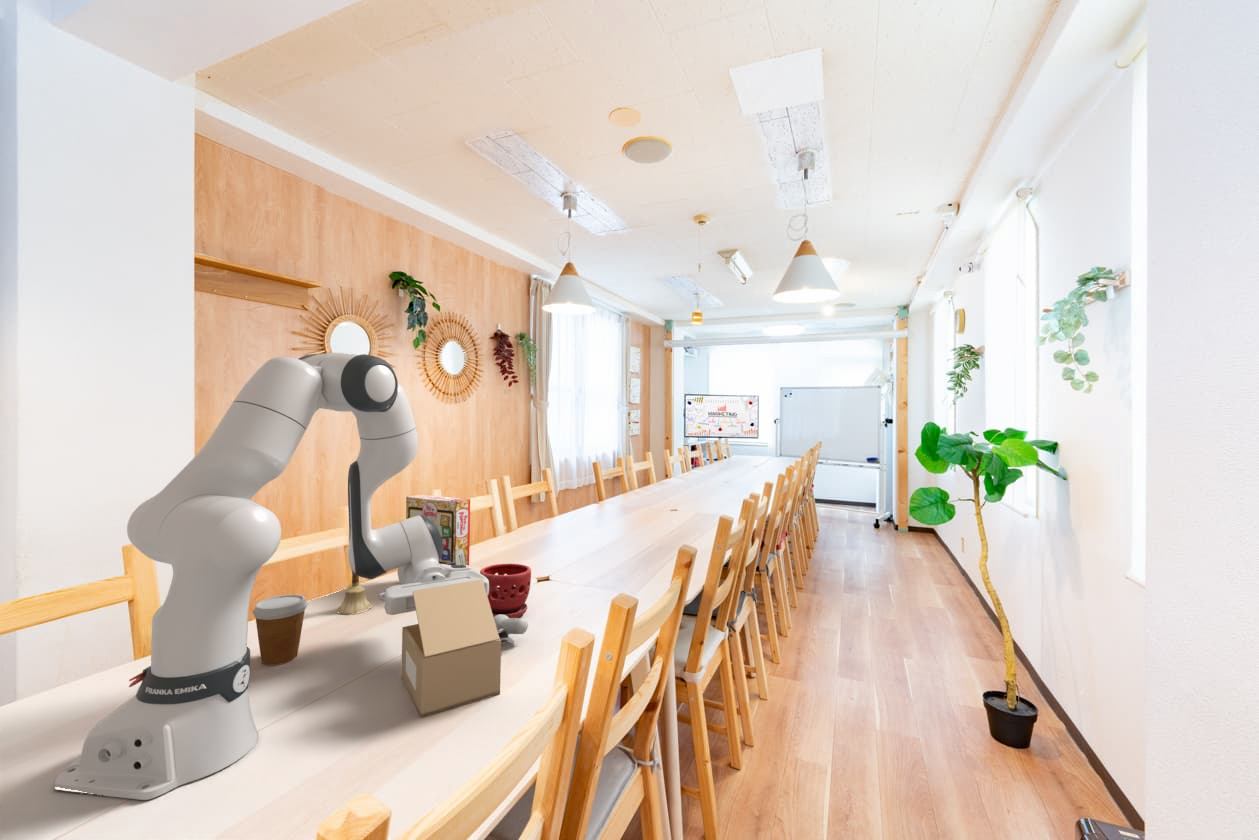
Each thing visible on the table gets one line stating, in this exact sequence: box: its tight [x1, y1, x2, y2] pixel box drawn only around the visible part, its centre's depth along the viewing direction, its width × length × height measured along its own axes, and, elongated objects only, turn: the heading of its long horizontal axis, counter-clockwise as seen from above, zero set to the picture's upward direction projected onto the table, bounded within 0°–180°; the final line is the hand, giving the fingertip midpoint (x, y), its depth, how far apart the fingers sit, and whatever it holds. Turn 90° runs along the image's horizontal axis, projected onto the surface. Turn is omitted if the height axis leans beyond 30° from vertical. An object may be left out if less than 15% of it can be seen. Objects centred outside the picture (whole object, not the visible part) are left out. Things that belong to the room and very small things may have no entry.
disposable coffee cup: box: [252, 594, 309, 666], centre depth 106 cm, size 10×10×12 cm
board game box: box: [405, 494, 471, 566], centre depth 154 cm, size 20×6×27 cm, turn 66°
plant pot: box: [479, 563, 532, 618], centre depth 133 cm, size 13×13×12 cm
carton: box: [400, 623, 502, 719], centre depth 97 cm, size 16×14×10 cm
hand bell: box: [336, 568, 372, 615], centre depth 135 cm, size 8×8×16 cm
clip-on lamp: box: [494, 614, 529, 648], centre depth 117 cm, size 12×6×18 cm
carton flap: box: [413, 579, 500, 657], centre depth 94 cm, size 13×13×1 cm
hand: (448, 604), depth 98 cm, fingers closed
